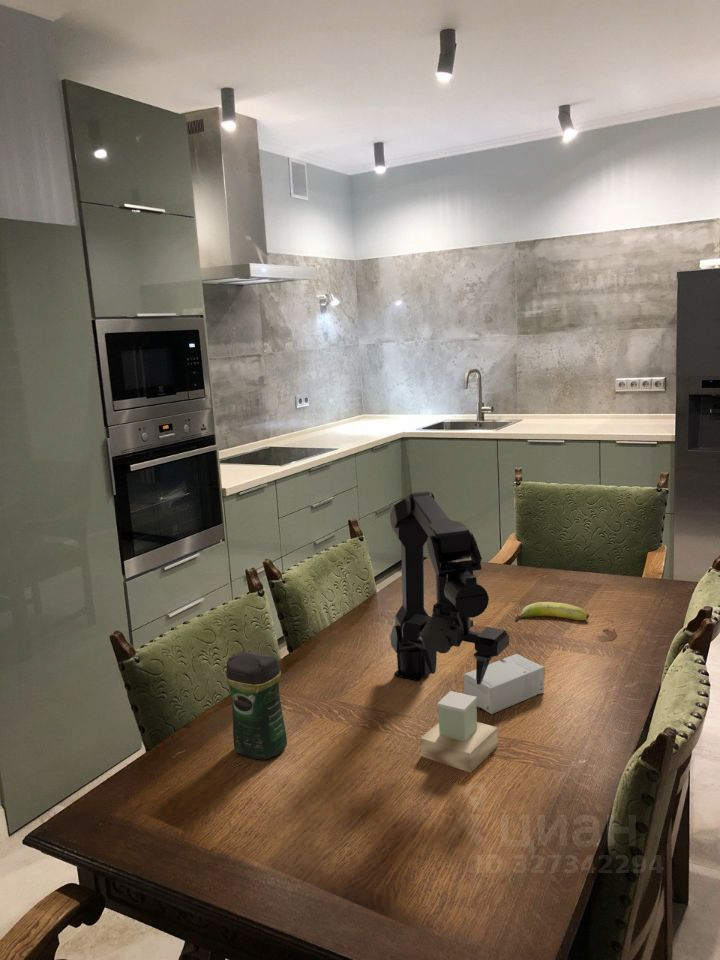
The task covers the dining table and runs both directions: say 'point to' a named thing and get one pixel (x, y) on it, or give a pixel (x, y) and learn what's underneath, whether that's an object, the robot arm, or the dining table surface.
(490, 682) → the skincare box
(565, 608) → the green-yellow banana
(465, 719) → the tea tin
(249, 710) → the coffee jar
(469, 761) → the beech box
